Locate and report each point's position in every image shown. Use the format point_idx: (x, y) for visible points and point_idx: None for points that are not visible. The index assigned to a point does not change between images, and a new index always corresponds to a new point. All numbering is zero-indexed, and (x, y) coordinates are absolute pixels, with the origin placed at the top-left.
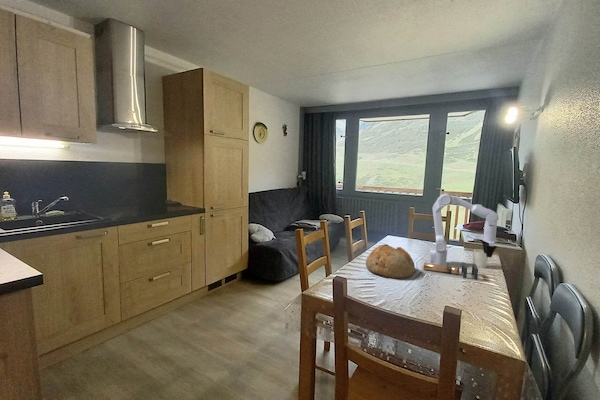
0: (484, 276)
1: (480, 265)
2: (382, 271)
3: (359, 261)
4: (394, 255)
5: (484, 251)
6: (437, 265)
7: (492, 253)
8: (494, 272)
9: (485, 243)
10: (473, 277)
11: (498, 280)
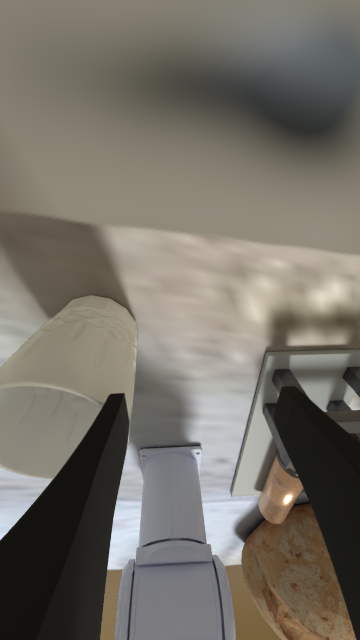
0: (279, 325)
1: (135, 343)
2: None
3: (238, 560)
4: None
5: (126, 442)
6: (295, 499)
7: (347, 434)
8: (176, 255)
9: (90, 622)
10: (327, 377)
11: (336, 261)
